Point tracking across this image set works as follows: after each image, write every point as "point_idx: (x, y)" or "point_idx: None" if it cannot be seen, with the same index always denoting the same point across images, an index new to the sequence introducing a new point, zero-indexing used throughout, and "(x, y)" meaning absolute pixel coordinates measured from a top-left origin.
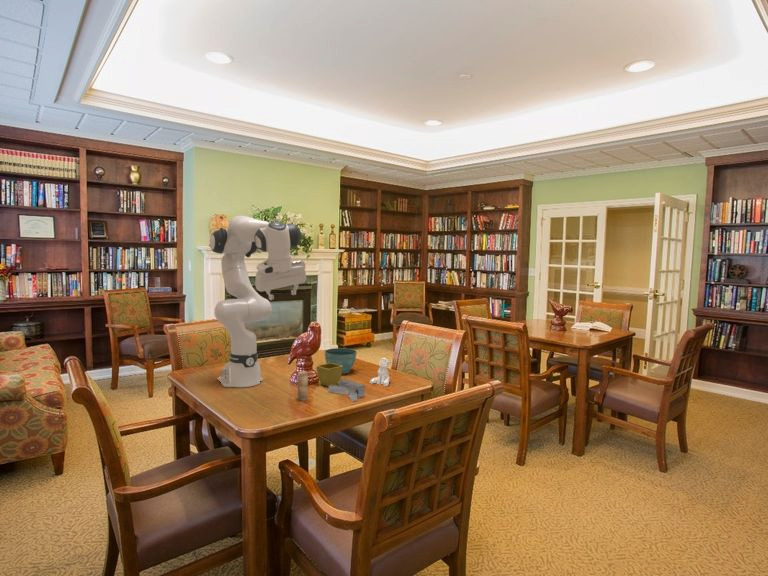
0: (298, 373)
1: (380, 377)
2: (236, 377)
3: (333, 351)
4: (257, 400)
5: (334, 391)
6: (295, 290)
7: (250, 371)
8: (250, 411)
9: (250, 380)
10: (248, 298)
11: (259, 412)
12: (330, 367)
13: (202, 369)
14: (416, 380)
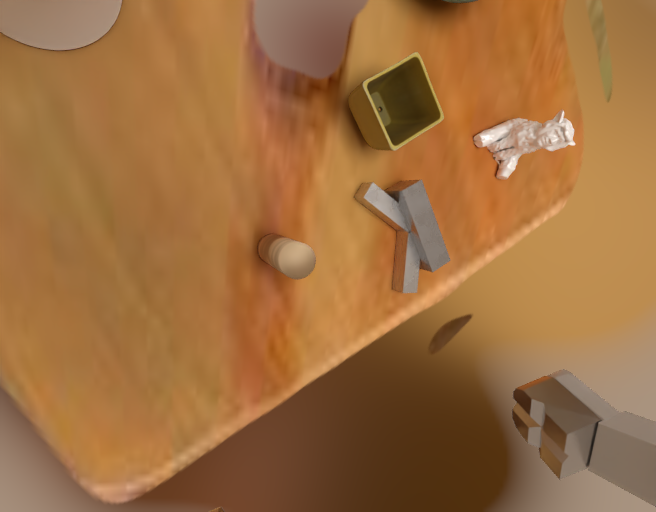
0: (281, 268)
1: (508, 147)
2: None
3: None
4: (120, 236)
5: (369, 208)
6: (605, 468)
7: (64, 4)
8: (100, 347)
9: (73, 30)
10: None
11: (131, 358)
12: (406, 63)
13: None
14: None
